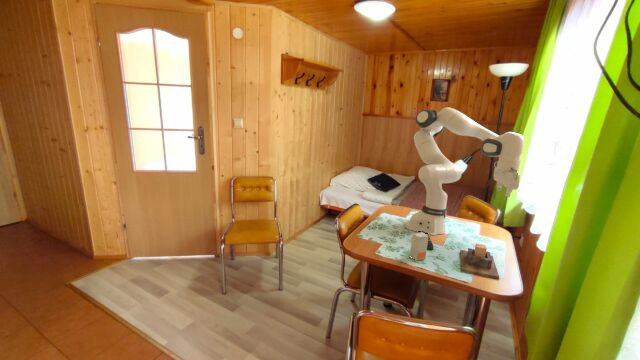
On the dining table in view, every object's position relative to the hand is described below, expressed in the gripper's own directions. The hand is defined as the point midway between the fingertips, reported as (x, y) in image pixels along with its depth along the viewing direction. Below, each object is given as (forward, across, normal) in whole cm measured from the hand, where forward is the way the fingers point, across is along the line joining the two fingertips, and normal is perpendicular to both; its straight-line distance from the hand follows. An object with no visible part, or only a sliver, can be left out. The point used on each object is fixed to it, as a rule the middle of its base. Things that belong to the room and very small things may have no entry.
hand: (503, 193), depth 148 cm
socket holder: (+29, -21, +14) cm, 39 cm away
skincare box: (+29, -22, +41) cm, 54 cm away
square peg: (+28, -21, +14) cm, 38 cm away
